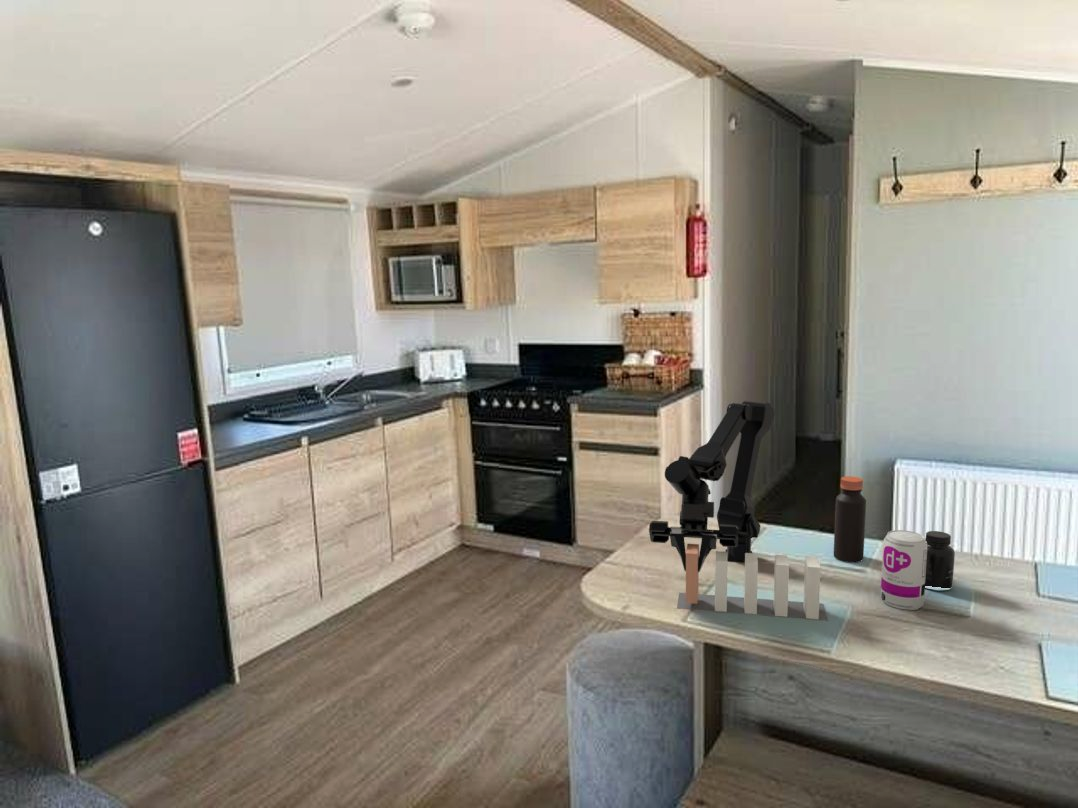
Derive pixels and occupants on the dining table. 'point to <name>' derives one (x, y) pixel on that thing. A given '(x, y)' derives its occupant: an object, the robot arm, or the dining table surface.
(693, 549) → the orange end domino
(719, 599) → the domino
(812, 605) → the domino
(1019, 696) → the dining table surface
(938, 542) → the supplement bottle
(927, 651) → the dining table surface
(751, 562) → the domino
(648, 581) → the dining table surface
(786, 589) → the domino
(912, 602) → the supplement can
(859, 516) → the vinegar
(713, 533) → the robot arm
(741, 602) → the mat
